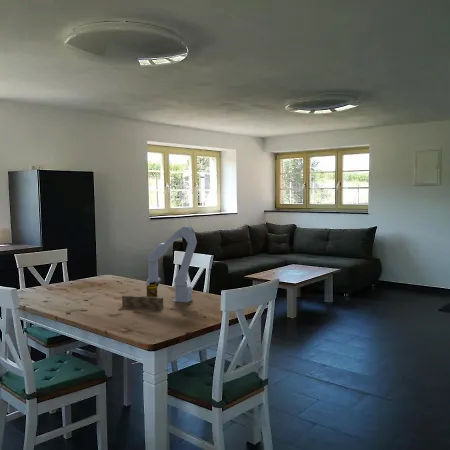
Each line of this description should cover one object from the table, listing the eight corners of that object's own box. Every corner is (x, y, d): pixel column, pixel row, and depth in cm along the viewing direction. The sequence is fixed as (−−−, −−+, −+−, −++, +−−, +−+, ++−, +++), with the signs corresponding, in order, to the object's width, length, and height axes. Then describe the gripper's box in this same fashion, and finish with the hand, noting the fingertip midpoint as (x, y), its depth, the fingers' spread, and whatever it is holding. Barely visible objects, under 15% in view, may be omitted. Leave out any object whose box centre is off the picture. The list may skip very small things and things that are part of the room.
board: (163, 308, 243) (163, 297, 242) (161, 309, 240) (161, 298, 240) (124, 305, 250) (124, 294, 249) (122, 306, 248) (122, 295, 247)
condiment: (156, 303, 253) (155, 283, 252) (142, 303, 254) (141, 283, 253) (159, 300, 260) (158, 280, 259) (145, 300, 261) (144, 280, 260)
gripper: (152, 270, 267) (153, 292, 268) (141, 274, 254) (141, 297, 255) (163, 270, 265) (163, 293, 266) (152, 275, 252) (152, 298, 253)
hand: (153, 295), depth 260 cm, fingers closed, pressing on condiment
